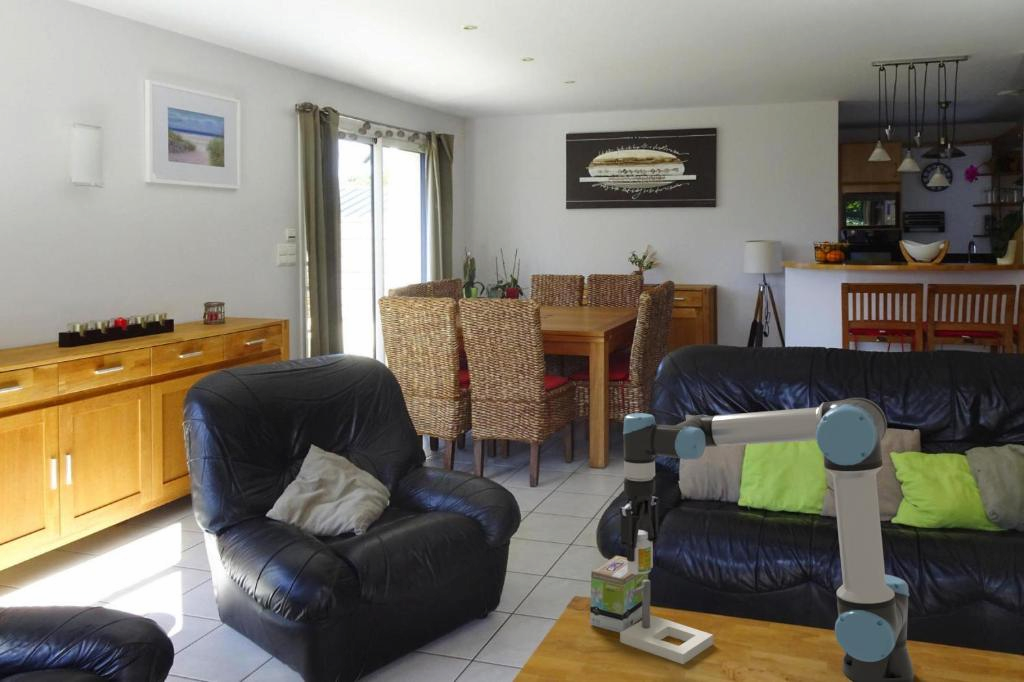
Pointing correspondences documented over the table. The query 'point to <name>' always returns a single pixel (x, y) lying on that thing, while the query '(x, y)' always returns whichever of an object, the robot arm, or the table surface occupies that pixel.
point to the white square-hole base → (663, 634)
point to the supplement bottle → (643, 552)
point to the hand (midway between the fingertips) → (640, 569)
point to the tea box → (615, 595)
